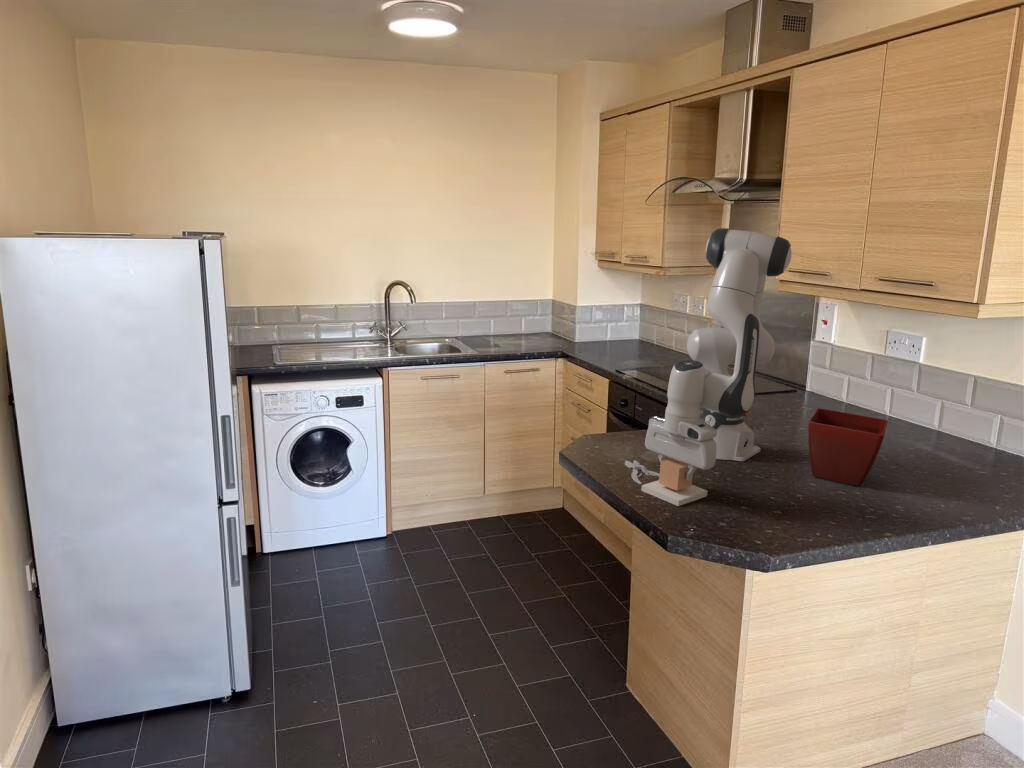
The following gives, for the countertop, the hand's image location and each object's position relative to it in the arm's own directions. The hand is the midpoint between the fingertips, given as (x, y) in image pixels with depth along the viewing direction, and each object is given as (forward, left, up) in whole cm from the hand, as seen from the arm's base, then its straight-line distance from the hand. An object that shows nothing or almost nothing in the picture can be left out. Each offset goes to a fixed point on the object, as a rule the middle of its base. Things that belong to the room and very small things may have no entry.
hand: (676, 475), depth 184 cm
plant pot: (-53, +18, -5) cm, 56 cm away
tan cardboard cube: (0, 0, -3) cm, 3 cm away
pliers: (-4, -14, -6) cm, 16 cm away
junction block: (0, 0, -5) cm, 5 cm away
